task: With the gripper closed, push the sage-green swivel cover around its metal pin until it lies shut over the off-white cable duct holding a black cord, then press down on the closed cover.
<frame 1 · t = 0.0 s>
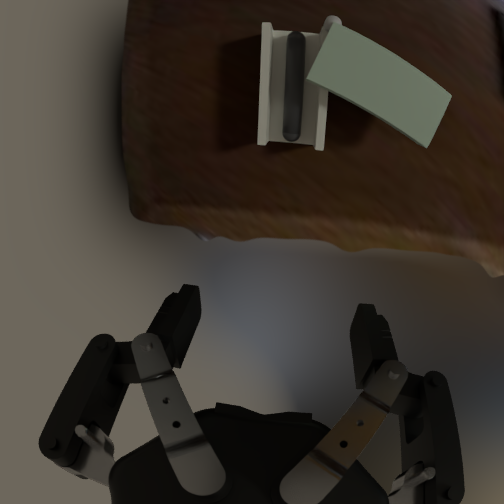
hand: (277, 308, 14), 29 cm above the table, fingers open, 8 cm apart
cover: (381, 78, 24), point 7 cm above the table, hinge at 70.0°
duct: (294, 86, 33), on the table
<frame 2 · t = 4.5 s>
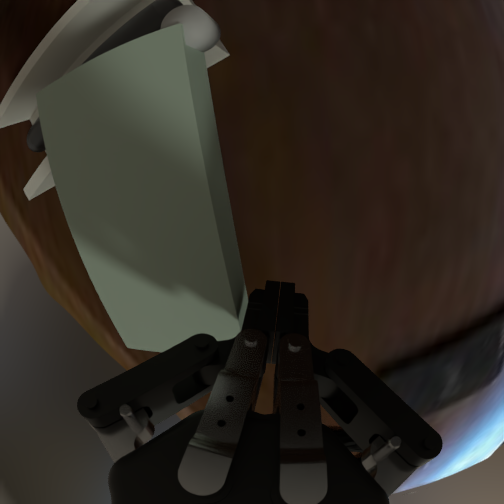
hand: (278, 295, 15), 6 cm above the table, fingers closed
cover: (149, 211, 12), point 7 cm above the table, hinge at 69.2°, touching gripper
duct: (110, 79, 15), on the table
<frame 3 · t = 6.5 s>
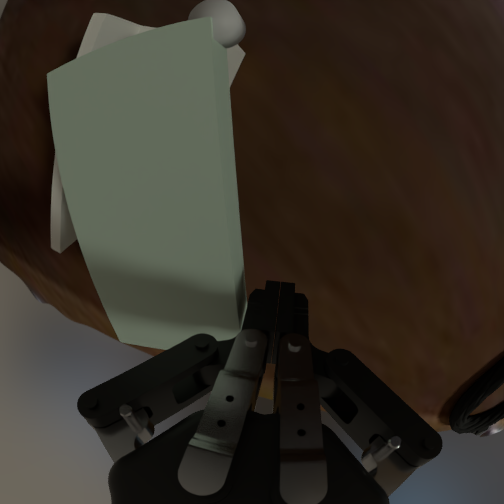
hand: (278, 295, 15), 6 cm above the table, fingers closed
cover: (156, 204, 12), point 7 cm above the table, hinge at 26.7°, touching gripper
duct: (149, 142, 18), on the table
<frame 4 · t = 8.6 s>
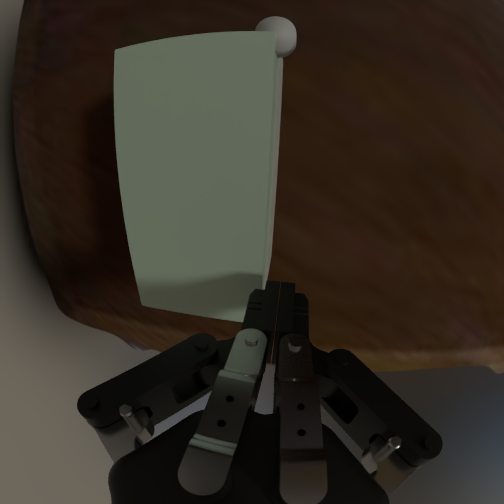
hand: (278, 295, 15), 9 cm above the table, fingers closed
cover: (202, 179, 14), point 7 cm above the table, hinge at -0.1°
duct: (225, 161, 21), on the table
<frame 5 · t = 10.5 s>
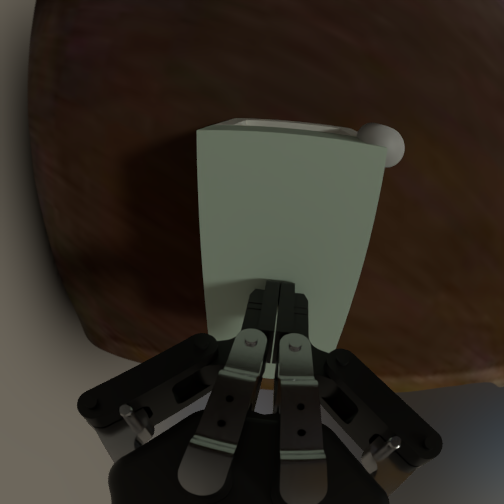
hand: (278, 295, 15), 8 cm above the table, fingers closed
cover: (288, 273, 15), point 7 cm above the table, hinge at -0.1°, touching gripper
duct: (285, 225, 22), on the table
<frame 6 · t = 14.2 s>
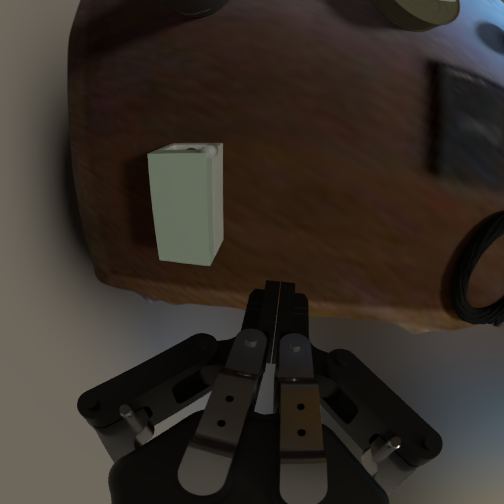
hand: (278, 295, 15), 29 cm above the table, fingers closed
cover: (185, 205, 37), point 7 cm above the table, hinge at 0.0°
cable lock: (497, 271, 42), on the table
duct: (198, 192, 43), on the table
can: (405, 0, 22), on the table
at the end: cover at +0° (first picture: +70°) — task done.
